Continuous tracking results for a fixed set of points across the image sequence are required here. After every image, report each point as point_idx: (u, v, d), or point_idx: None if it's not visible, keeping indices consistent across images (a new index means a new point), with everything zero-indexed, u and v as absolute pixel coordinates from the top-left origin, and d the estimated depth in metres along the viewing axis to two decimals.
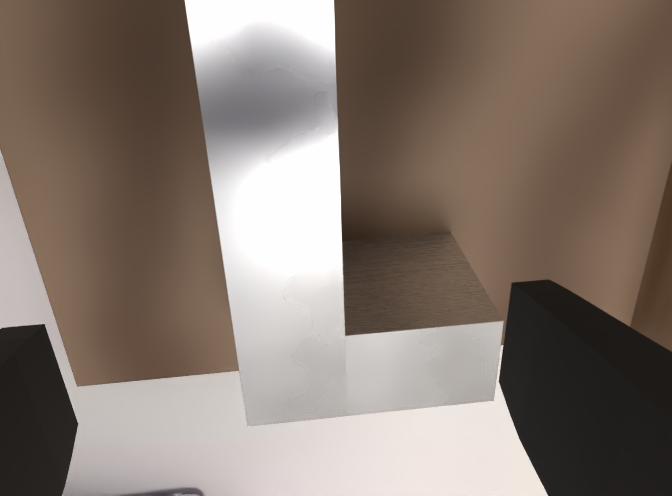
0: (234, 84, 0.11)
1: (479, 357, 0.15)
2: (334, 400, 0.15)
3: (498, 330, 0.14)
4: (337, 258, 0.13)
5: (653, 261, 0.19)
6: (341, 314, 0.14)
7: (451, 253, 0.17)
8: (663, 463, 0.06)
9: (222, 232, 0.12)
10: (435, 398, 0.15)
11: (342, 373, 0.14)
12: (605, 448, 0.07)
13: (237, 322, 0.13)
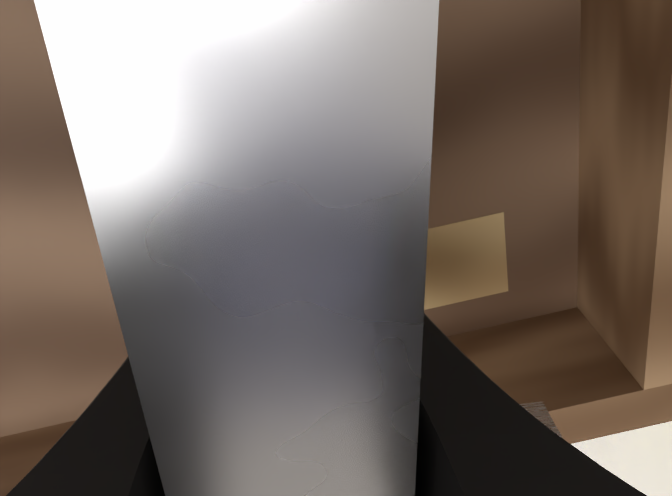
0: (205, 333, 0.05)
1: None
2: None
3: None
4: None
5: (33, 436, 0.20)
6: None
7: None
8: (441, 488, 0.06)
9: None
10: None
11: None
12: None
13: None
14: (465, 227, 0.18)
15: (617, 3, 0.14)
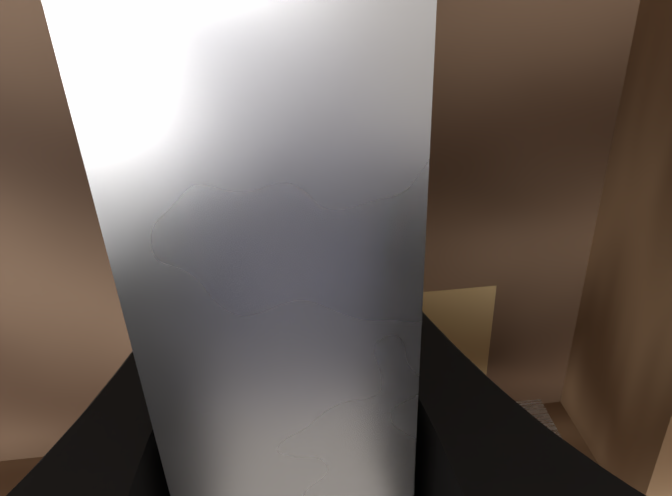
0: (209, 332, 0.05)
1: None
2: None
3: None
4: None
5: None
6: None
7: None
8: (440, 489, 0.06)
9: None
10: None
11: None
12: (415, 470, 0.07)
13: None
14: (448, 298, 0.15)
15: None
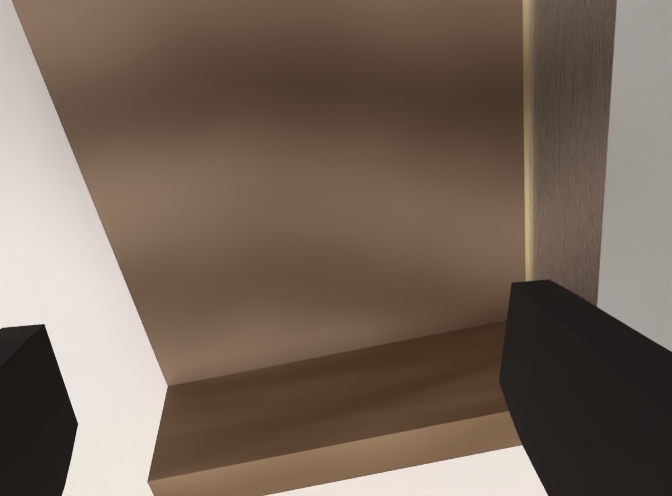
0: (644, 61, 0.12)
1: None
2: None
3: None
4: None
5: (255, 376, 0.20)
6: None
7: None
8: (663, 463, 0.06)
9: (607, 197, 0.14)
10: None
11: None
12: (605, 448, 0.07)
13: (604, 280, 0.15)
14: None
15: None
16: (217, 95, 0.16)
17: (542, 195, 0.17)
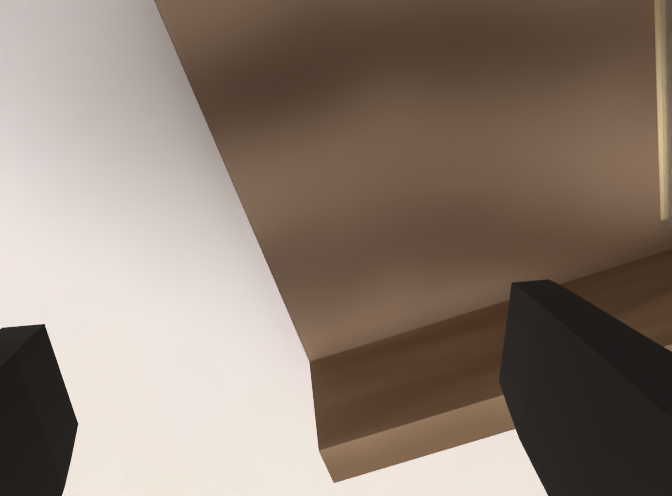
0: None
1: None
2: None
3: None
4: None
5: (395, 342, 0.21)
6: None
7: None
8: (663, 463, 0.06)
9: None
10: None
11: None
12: (605, 449, 0.07)
13: None
14: None
15: None
16: (349, 61, 0.16)
17: None
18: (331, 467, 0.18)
